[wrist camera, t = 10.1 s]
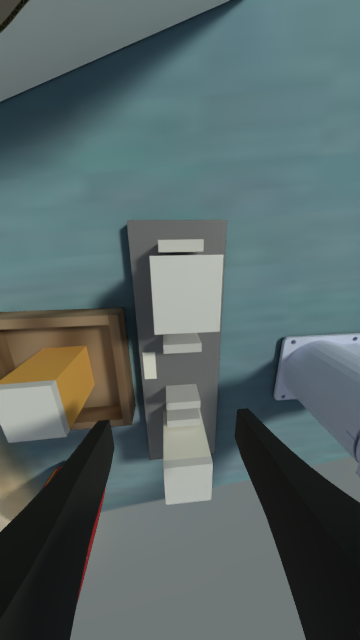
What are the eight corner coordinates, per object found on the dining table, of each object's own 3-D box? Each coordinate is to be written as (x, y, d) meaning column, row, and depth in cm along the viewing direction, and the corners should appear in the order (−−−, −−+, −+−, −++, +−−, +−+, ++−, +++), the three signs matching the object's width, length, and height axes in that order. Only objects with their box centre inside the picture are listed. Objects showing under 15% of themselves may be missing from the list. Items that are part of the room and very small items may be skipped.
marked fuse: (86, 345, 18) (50, 385, 12) (94, 384, 19) (66, 436, 14) (42, 348, 18) (-15, 390, 12) (54, 388, 19) (8, 442, 13)
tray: (123, 307, 18) (117, 315, 15) (135, 406, 21) (131, 425, 19) (-8, 312, 17) (-36, 321, 14) (27, 414, 20) (9, 435, 18)
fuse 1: (202, 256, 16) (223, 254, 10) (201, 307, 17) (219, 331, 12) (154, 257, 16) (149, 255, 10) (157, 309, 17) (154, 334, 11)
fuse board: (223, 222, 16) (238, 212, 13) (212, 445, 24) (220, 475, 21) (128, 222, 15) (119, 212, 12) (150, 451, 24) (148, 483, 20)
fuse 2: (199, 407, 21) (212, 463, 15) (198, 438, 22) (211, 499, 17) (163, 410, 21) (163, 468, 15) (165, 441, 22) (165, 504, 16)
